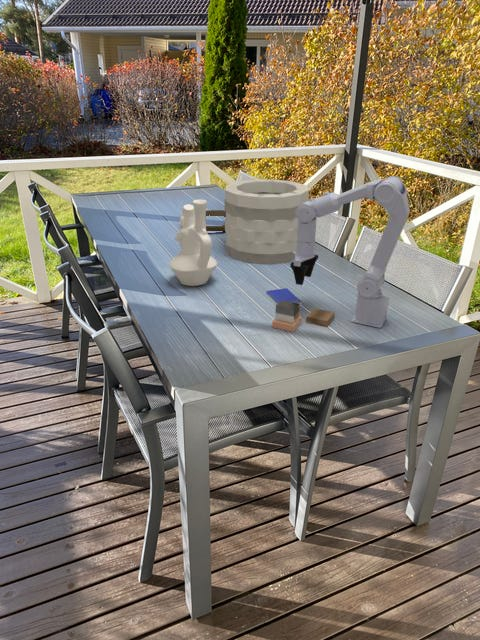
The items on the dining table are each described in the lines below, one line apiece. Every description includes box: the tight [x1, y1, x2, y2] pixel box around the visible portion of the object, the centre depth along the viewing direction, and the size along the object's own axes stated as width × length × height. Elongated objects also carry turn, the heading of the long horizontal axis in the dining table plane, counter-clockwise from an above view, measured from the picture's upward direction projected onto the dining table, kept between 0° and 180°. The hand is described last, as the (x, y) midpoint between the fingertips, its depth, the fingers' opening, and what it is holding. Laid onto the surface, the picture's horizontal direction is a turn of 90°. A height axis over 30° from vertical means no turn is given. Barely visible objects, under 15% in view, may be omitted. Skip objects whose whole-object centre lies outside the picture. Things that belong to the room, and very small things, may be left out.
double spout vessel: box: [168, 199, 218, 287], centre depth 178 cm, size 18×22×32 cm
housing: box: [274, 300, 301, 324], centre depth 153 cm, size 6×4×5 cm
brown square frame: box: [206, 209, 226, 231], centre depth 252 cm, size 31×31×5 cm
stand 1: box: [271, 316, 303, 333], centre depth 155 cm, size 7×7×2 cm
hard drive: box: [265, 287, 303, 305], centre depth 173 cm, size 2×8×12 cm
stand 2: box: [305, 307, 335, 328], centre depth 158 cm, size 7×7×2 cm
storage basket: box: [223, 179, 310, 266], centre depth 212 cm, size 35×35×27 cm
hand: (303, 280), depth 163 cm, fingers open, 7 cm apart
